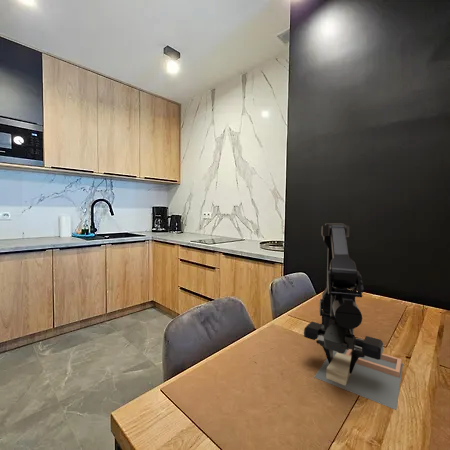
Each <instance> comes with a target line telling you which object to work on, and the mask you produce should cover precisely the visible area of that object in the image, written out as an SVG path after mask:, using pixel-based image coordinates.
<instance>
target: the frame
mask: <svg viewBox="0 0 450 450" xmlns="http://www.w3.org/2000/svg"><path fill="white" fill-rule="evenodd" d="M351 352H352V350H351V349H349V350H348V351H347V352H346V354H345V355H347V356H351ZM381 359H382V360H385V361H389V362H392V363H395V364H396V369H392V368H389V367H386V366H383V365H380V364H377V363H373V362H370V361H367V360H364V359H361V358H358V360H357V361H356V364H359V365H362V366H365V367H368V368H371V369H374V370H377V371H381V372H384V373H387V374H390V375H393V376H396V377H399V376H400V369H401V363H402V358H399V357H396V356H392V355H389V354H386V353H382V356H381Z"/></svg>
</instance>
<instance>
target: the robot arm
mask: <svg viewBox="0 0 450 450" xmlns="http://www.w3.org/2000/svg"><path fill="white" fill-rule="evenodd" d="M321 236H322V238H323V243H324V244H325V246H326V247H327V257H326V259H327V263H326V264H327V265H326V266H327V267H326V288H324V290H323V291H322V293H321V298H320V299H319V307H318V309H319V311H318V312H319V316H320V317H321V323H319V322H315V321H310V323H309V322H308V324H307V325H306V326H305V327H304V329H303V337H304V338H305V339H309V340H313V341H315V340H316V341H315V342H316V343H317V345H320V346H321V347H322V350H323V351H324V354H325V356H326V359H328V362H329V364H330V362H331V361H332V359H333V351H336V352H338V353H344V352H345V350H349V349H351V350H352V352H351V362H350V374H351V373H352V371H353V369H354V366H355V364H356V361H357V360H358V358H359V357H362V358H364V357H365V356H367V357H371V358H374V359H377V360H379V359H381V356H382V353H383V352H384V342H383V341H382V339H378V338H375V337H372V336H368V335H365V337H364V339H362V338H358V337H356V335H355V330H354V329H356V328H357V327H360V325H361V324H362V322H363V314H362V313H361V310H360V309H359V306H358V305H357V303H356V298H363V293H364V291H365V288H364V284H363V283H364V282H363V276H362V275H361V272H360V271H358V270H357V265H356V262H355V261H354V260H353V259H352V258H350V254H349V247H348V241H347V238H349V237H350V225H347V224H344V223H340V222H337V223H336V222H335V223H333V222H332V223H331V222H330V223H327V222H326V223H325V224H324V225H322V226H321ZM355 288H356V289H355ZM383 354H384V353H383Z"/></svg>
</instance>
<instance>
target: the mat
mask: <svg viewBox="0 0 450 450" xmlns="http://www.w3.org/2000/svg"><path fill="white" fill-rule="evenodd" d="M347 351H348V350H345V352H344V353H341V354H344V355H345V354H346V352H347ZM336 353H337V352H336V351H333V358H334V356H335V354H336ZM359 358H361V359H364V360H367V361H370V362H373V363H377V364H380V365H383V366H386V367H389V368H392V369H396V364H395V363H392V362H389V361H385V360H382V359H379V360H377V359H374V358H371V357H367V356H365V357H364V358H362V357H359ZM328 365H329V362H328V359H327V358H326V359H325V360H324V362H323V363H322V365H321V366H320V367H319V369H318V370H317V372H316V373H315V375H314V376H313V378H314V379H317V380H320V381H322V382H325V383H327V384H329V385H332V386H334V387H337V388H340V389H342V390H345V391H347V392H350V393H352V394H354V395H357V396H360V397H362V398H365V399H367V400H370V401H373V402H375V403H376V404H380V405H383V406H385V407H387V408H390V409H392V410H394V411H397V408H398V402H399V395H400V387H401V380H402V373H403V367H404V363H403V362H401V369H400V376H399V377H396V376H393V375H390V374H387V373H384V372H381V371H377V370H374V369H371V368H368V367H365V366H362V365H359V364H355V366H354V369H353V371H352V373H351V375H350V377H349V379H348V381H347V383H346V385H342V384H339V383H337V382H334V381H332V380H329V379H327V378H326V369H327V367H328Z"/></svg>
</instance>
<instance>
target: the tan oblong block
mask: <svg viewBox="0 0 450 450" xmlns="http://www.w3.org/2000/svg"><path fill="white" fill-rule="evenodd" d="M350 362H351V356H347V355H344V354H341V353H338V352H337V353H336V354H335V356H334V358H333V359H332V361H331V362H330V364H329V365H328V367H327V369H326V378H327V379H329V380H332V381H334V382H337V383H339V384H342V385H346V383H347V381H348V379H349V377H350V375H351V374H350Z"/></svg>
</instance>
